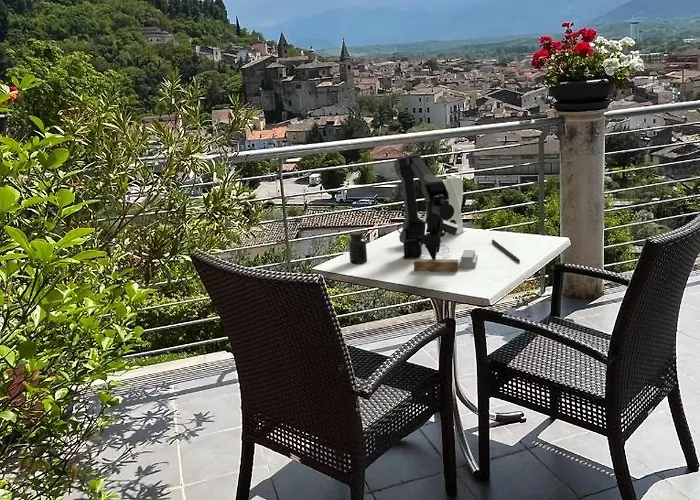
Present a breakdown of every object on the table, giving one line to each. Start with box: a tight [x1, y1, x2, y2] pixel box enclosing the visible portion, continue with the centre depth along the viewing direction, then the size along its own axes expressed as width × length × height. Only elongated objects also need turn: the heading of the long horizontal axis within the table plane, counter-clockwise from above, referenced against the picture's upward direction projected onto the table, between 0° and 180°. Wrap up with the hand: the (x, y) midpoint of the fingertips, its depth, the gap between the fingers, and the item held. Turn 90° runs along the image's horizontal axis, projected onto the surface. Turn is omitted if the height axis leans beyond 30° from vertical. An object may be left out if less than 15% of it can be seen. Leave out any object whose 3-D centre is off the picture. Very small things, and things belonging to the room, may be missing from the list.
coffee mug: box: [396, 218, 427, 246], centre depth 289 cm, size 12×9×10 cm
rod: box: [491, 239, 521, 264], centre depth 267 cm, size 31×1×2 cm, turn 6°
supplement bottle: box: [348, 231, 368, 265], centre depth 266 cm, size 7×7×12 cm
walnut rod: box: [413, 258, 460, 273], centre depth 250 cm, size 16×4×4 cm, turn 75°
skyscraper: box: [445, 171, 467, 236], centre depth 299 cm, size 8×8×28 cm
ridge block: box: [458, 249, 479, 268], centre depth 256 cm, size 6×10×4 cm, turn 165°
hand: (435, 255), depth 249 cm, fingers open, 9 cm apart
